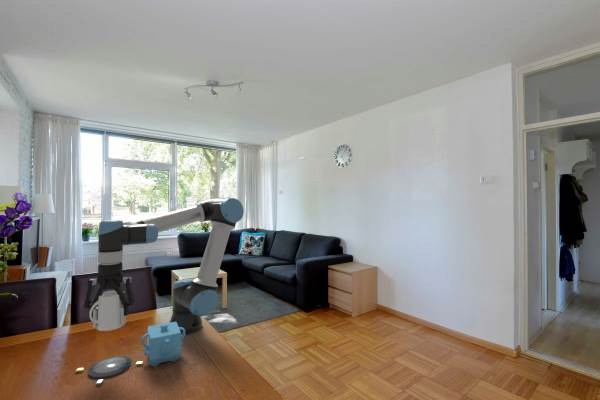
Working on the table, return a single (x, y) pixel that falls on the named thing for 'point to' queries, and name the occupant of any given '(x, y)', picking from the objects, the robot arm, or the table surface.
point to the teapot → (163, 343)
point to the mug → (108, 311)
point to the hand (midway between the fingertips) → (109, 325)
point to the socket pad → (109, 367)
